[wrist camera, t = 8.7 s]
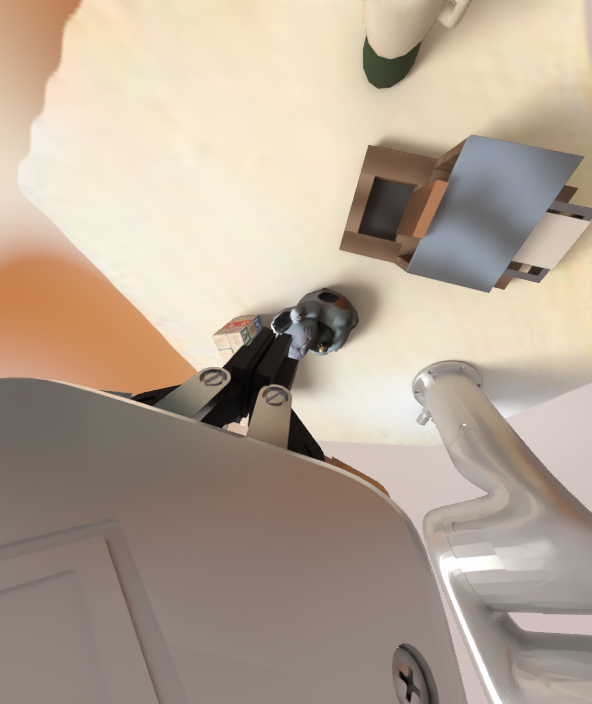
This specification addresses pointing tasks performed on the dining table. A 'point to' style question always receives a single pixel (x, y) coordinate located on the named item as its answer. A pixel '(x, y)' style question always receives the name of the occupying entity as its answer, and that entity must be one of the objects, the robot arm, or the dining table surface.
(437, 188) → the sled
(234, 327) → the stack of blocks
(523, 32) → the dining table surface
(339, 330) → the lucky cat figurine
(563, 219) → the block
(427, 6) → the character mug
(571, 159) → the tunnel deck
